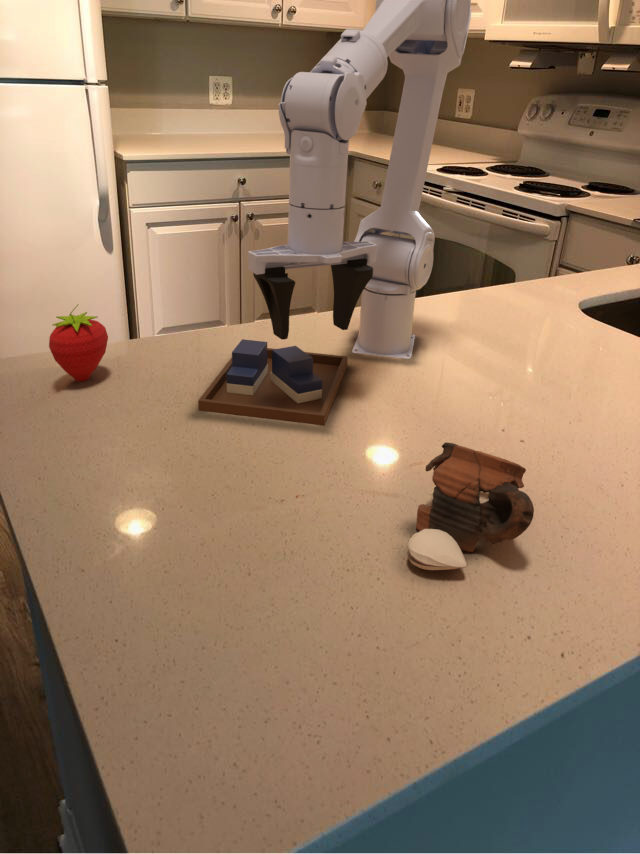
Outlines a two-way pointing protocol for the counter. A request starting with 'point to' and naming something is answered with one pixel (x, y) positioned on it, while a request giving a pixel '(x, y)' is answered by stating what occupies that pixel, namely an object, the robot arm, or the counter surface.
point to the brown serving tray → (278, 394)
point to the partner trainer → (247, 367)
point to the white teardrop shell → (435, 551)
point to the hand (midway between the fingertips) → (311, 331)
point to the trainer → (295, 374)
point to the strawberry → (78, 344)
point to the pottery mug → (476, 497)
